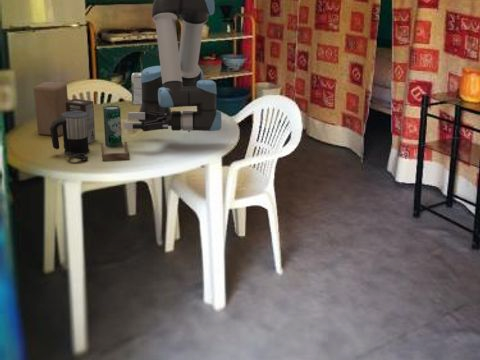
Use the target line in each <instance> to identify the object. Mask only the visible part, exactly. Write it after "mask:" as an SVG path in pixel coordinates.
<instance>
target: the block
mask: <svg viewBox="0 0 480 360" xmlns="http://www.w3.org/2000/svg"><path fill="white" fill-rule="evenodd" d="M33 95H34V104H35V116H36V117H35V118H36V126H37V133H38V135H44V136H51V131H50V126H51V124H52V122H53V121H55V120H57V119H62V118H63V116H62V114H63V113H65V112H66V102H67V101H69V100H68V97H69V96H68V87H67V83H65V82H55V81H45V82H42V83H39V84H37V85H35V86H34V87H33ZM57 132H58V137H60V136H63V125H60V126H59V127H58V128H57Z"/></svg>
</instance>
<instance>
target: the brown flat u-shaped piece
mask: <svg viewBox="0 0 480 360" xmlns="http://www.w3.org/2000/svg"><path fill="white" fill-rule="evenodd" d="M104 145H105V144H104V142H100V146H101V147H100V148H101V158H102V159H101V160H102V162H110V161H113V162H114V161H129V160H130V151H129V147H128V142H127V141H124V151H125V152H111V153H109V152H107V153H105V148H104V147H105V146H104Z"/></svg>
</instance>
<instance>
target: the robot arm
mask: <svg viewBox="0 0 480 360" xmlns="http://www.w3.org/2000/svg"><path fill="white" fill-rule="evenodd" d="M215 7H216V6H215V0H153V3H152V7H151V17H152V21H153V22H154V24H155V31H156V38H157V49H158V57H159V64H160V65H153V66H148V67H146V68H144V69H142V71H141V72H140V73H141V90H142V104H141V105H140V108H139V112H137V111H136V112H135V111H133V112H131V111H130V112H128V113H127V115H128V116H127V118H128V120H138V121H124V122H123V129H124V130H142V132H150V131H157V130H158V131H159V130H169V127H170V128H171V131H174V132H175V131H176V132H178V131H181V130H182V131H187V132H191V131H196V132H197V131H199V132H200V131H202V132H205V131H206V132H214V131H215V132H217V131H220V130H221V128H222V112H221V111H218V110H217V94H218V93H217V83H216V82H215V81H214V80H212V79H204V72H203V70H202V69H201V68H200V65H199V59H200V53H201V45H202V38H203V30H204V24H205V23H206V22H208V20H209V16H212V15H214V13H215V10H216V8H215ZM178 16H179V17H180V20H182V24H181V32H180V42H178V34H177V25H176V21H177V20H178ZM182 107H183V108H184V107H196V110H195V111H194V110H193V111H192V110H183V111H180V110H179V111H178V110H171V109H172V108H182Z"/></svg>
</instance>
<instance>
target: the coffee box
mask: <svg viewBox="0 0 480 360" xmlns="http://www.w3.org/2000/svg"><path fill="white" fill-rule="evenodd" d="M69 111H83V112H86V113H87V133H88V145H89V144H91V143H92V142H94V141H96V128H95V125H96V124H95V113H94V112H95V110H94V101H93V100H89V99H88V100H87V99H80V98H72V99H70V100H68V101H67V102H66V112H69Z"/></svg>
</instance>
